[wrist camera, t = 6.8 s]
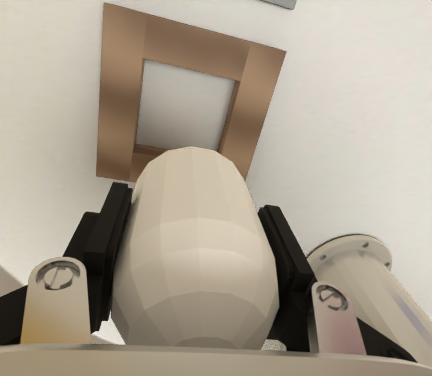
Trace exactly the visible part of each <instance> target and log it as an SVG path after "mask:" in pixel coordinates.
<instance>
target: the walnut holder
mask: <svg viewBox="0 0 432 376" xmlns="http://www.w3.org/2000/svg"><path fill="white" fill-rule="evenodd" d="M285 55H286V51H283V50H280V49H276V48H273V47H269V46H265V45H262V44H258V43H254V42H250V41H247V40H243V39H239V38H236V37H232V36H228V35H224V34H221V33H217V32H213V31H209V30H206V29H202V28H198V27H195V26H191V25H187V24H183V23H180V22H176V21H172V20H168V19H165V18H161V17H157V16H154V15H150V14H146V13H142V12H139V11H135V10H131V9H127V8H124V7H120V6H116V5H113V4H109V3H104V11H103V33H102V55H101V78H100V100H99V122H98V145H97V167H96V176H97V177H104V178H111V179H118V180H124V181H131V182H137V179H138V178H139V176H140V175H141V173H142V172H143V170H144V169H145V167H146V166H147V164H148V163H149V162H150V161H152V160H154V159H155V158H157V157H158V156H160V155H162V154H163V153H165V152H166V151H168V150H165V149H160V148H154V147H148V146H142V145H137V144H135V143H136V134H137V125H138V116H139V107H140V98H141V89H142V80H143V71H144V62H145V59H149V60H153V61H157V62H161V63H166V64H170V65H174V66H178V67H182V68H187V69H191V70H195V71H199V72H204V73H208V74H212V75H216V76H221V77H225V78H229V79H233V80H236V82H235V86H234V90H233V94H232V98H231V102H230V106H229V110H228V114H227V117H226V121H225V125H224V129H223V133H222V137H221V141H220V145H219V149H218V153H219V154H221V155H222V156H224V157H225V158H227V159H229V160H230V161H232V162H233V163H234V165H235V166H236V168H237V170H238V171H239V173H240V174H241V176H242V177H243V179H244V181H245V179H246V176H247V173H248V170H249V167H250V164H251V161H252V157H253V154H254V151H255V148H256V145H257V142H258V139H259V136H260V133H261V129H262V126H263V123H264V120H265V117H266V114H267V111H268V108H269V104H270V101H271V98H272V95H273V92H274V89H275V86H276V83H277V79H278V76H279V73H280V70H281V67H282V64H283V61H284V58H285Z"/></svg>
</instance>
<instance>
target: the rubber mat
mask: <svg viewBox="0 0 432 376" xmlns="http://www.w3.org/2000/svg"><path fill="white" fill-rule="evenodd" d="M262 1H265V2H268V3H271V4H275V5H278V6H281V7H285V8H288V9H291V10H292V9H294V7H295V4H296V1H297V0H262Z"/></svg>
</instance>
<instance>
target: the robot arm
mask: <svg viewBox="0 0 432 376" xmlns="http://www.w3.org/2000/svg"><path fill="white" fill-rule="evenodd" d="M132 192H133V188H128V184H123V183H117V182H113V184H112V186H111V188H110V191H109V193H108V195H107V198H106V200H105V202H104V205H103V207H102V210H101V212H100V213H94V212H85V213H84V215H83V217H82V219H81V221H80V223H79V225H78V227H77V229H76V231H75V233H74V235H73V237H72V239H71V241H70V243H69V245H68V247H67V249H66V251H65V253H64V255H63V257H56V258H51V259H48V260H46V261H44V262H42V263H40V264H39V265H37V266H36V267H35V268H34V269H33V270H32V272H31V274H30V276H29V280H28V285H26V286H24V287H22V288H20V289H17V290H15V291H13V292H10V293H9V294H6V295H4V296H2V297H0V376H432V321H431V320H430V319H429V318H428V316H427V315H426V314H425V313H424V312H423V310H422V309H421V308H420V307H419V306H418V304H417V303H416V302H415V301H414V300H413V298H412V297H411V296H410V295H409V294H408V292H407V291H406V290H405V289H404V288H403V286H402V285H401V284H400V283H399V282H398V280H397V279H396V278H395V277H394V276H393V274H392V273H391V272H390V270H391V267H392V257H391V254H390V252H389V250H388V249H387V248H386V247H385V246H384V244H383V243H381V242H380V241H379V240H377V239H375V238H373V237H370V236H364V235H352V236H345V237H341V238H338V239H335V240H332V241H330V242H328V243H326V244H324V245H323V246H321V247H319V248H318V249H317V250H315V251H314V252H313V253H312V254H311V255H310V256H309V257H308V258H307V259H306V257H305V255H304V253H303V251H302V249H301V247H300V245H299V244H298V242H297V240H296V238H295V236H294V234H293V232H292V230H291V228H290V226H289V225H288V223H287V221H286V219H285V217H284V215H283V213H282V211H281V209H280V208H279V207H278V206H271V205H265V206H264V208H263V207H261V208H260V209H259V212H258V217H259V219H260V222H261V224H262V227H263V229H264V232H265V234H266V237H267V240H268V242H269V245H270V247H271V250H272V252H273V255H274V257H275V265H276V273H277V282H278V295H279V309H278V311H277V314H276V316H275V319H274V321H273V324H272V326H271V329H270V331H269V334H268V336H267V338H266V339H272V340H279V341H280V342H281V351H272V350H248V349H224V348H199V347H172V346H143V345H114V344H91V334H92V333H93V332H95V331H99V329H100V326H101V322H102V321H108V319H109V315H110V311H111V291H112V280H113V270H114V265H115V261H116V257H117V254H118V250H119V246H120V243H121V239H122V235H123V232H124V228H125V225H126V221H127V217H128V214H129V210H130V206H131V201H132Z"/></svg>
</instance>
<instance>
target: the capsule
mask: <svg viewBox="0 0 432 376" xmlns="http://www.w3.org/2000/svg"><path fill="white" fill-rule="evenodd" d="M278 309H279V295H278V282H277V273H276V265H275V257H274V255H273V252H272V250H271V247H270V245H269V242H268V240H267V237H266V234H265V232H264V229H263V227H262V224H261V222H260V219H259V217H258V214H257V212H256V209H255V207H254V204H253V202H252V199H251V197H250V194H249V191H248V189H247V186H246V184H245V181H244V179H243V177H242V176H241V174H240V173H239V171H238V170H237V168H236V166H235V165H234V163H233V162H232V161H230V160H229V159H227V158H225V157H224V156H222V155H221V154H219V153H218V152H216V151H214V150H209V149H204V148H199V147H193V146H189V147H184V148H179V149H173V150H168V151H166V152H165V153H163V154H162V155H160V156H158V157H157V158H155V159H154V160H152V161H150V162H149V163H148V164H147V166H146V167H145V169H144V170H143V172H142V173H141V175H140V176H139V178H138V179H137V182H136V186H135V189H134V193H133V196H132V201H131V206H130V210H129V214H128V217H127V221H126V225H125V228H124V232H123V235H122V239H121V243H120V246H119V250H118V254H117V257H116V261H115V265H114V270H113V280H112V291H111V318H112V320H113V322H114V324H115V326H116V328H117V329H118V331H119V333H120V335H121V337H122V339H123V340H124V342H125V344H126V345H143V346H172V347H199V348H224V349H248V350H261V348H262V346H263V344H264V342H265V340H266V338H267V336H268V334H269V331H270V329H271V326H272V324H273V321H274V319H275V316H276V314H277V311H278Z"/></svg>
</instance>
